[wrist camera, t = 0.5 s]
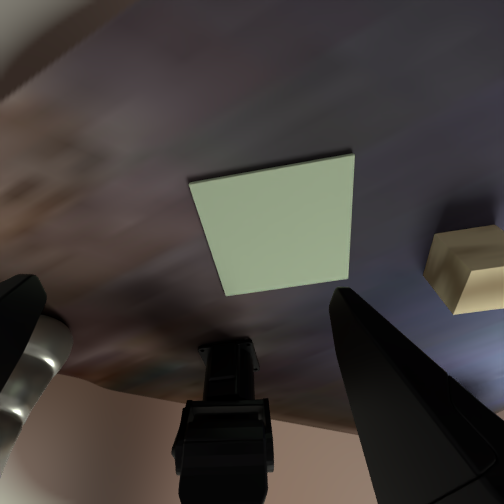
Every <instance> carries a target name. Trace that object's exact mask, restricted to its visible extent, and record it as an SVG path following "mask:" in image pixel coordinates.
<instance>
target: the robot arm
mask: <svg viewBox="0 0 504 504" xmlns="http://www.w3.org/2000/svg"><path fill="white" fill-rule="evenodd" d="M46 300H47V295H46V292H45V290H44V288H43V286H42V284H41V282H40V280H39V278H38V277H37V276H36V275H33V274H18V275H15V276H13V277H11V278H9V279H7V280H5V281H3V282H1V283H0V393H1V391H2V389H3V388H4V386H5V384H6V382H7V381H8V379H9V377H10V375H11V374H12V372H13V370H14V368H15V367H16V365H17V363H18V361H19V360H20V358H21V356H22V354H23V352H24V350H25V348H26V346H27V344H28V342H29V340H30V338H31V335H32V333H33V331H34V329H35V326H36V324H37V322H38V319H39V317H40V315H41V312H42V310H43V308H44V306H45V303H46ZM329 314H330V320H331V326H332V332H333V339H334V345H335V351H336V356H337V360H338V364H339V367H340V371H341V374H342V378H343V381H344V385H345V388H346V392H347V396H348V399H349V403H350V406H351V410H352V413H353V417H354V420H355V424H356V428H357V431H358V435H359V438H360V442H361V445H362V449H363V452H364V456H365V459H366V463H367V467H368V470H369V474H370V477H371V481H372V484H373V488H374V492H375V495H376V499H377V502H378V504H504V420H502V419H501V418H500V417H499V416H497V415H496V414H495V413H494V412H492V411H491V410H490V409H489V408H487V407H486V406H485V405H484V404H483V403H481V402H480V401H479V400H478V399H477V398H476V397H474V396H473V395H472V394H471V393H470V392H468V391H467V390H466V389H465V388H464V387H463V386H462V385H460V384H459V383H458V382H457V381H456V380H455V379H454V378H452V377H451V376H448V374H447V372H445V371H444V370H443V369H442V368H441V367H440V366H439V365H437V364H436V363H435V362H434V361H433V360H432V359H431V358H430V357H428V356H427V355H426V354H425V353H424V352H423V351H422V350H420V349H419V348H418V347H417V346H416V345H415V344H414V343H412V342H411V341H410V340H409V339H408V338H407V337H406V336H405V335H403V334H402V333H401V332H400V331H399V330H398V329H397V328H395V327H394V326H393V325H392V324H391V323H390V322H389V321H387V320H386V319H385V318H384V317H383V316H382V315H381V314H380V313H378V312H377V311H376V310H375V309H374V308H373V307H372V306H370V305H369V304H368V303H367V302H366V301H365V300H364V299H362V298H361V297H360V296H359V295H358V294H357V293H356V292H355V291H353V290H352V289H351V288H349V287H337V288H336V289H335V291H334V293H333V296H332V299H331V302H330V305H329ZM198 352H199V354H200V356H201V358H202V360H203V362H204V363H205V365H206V373H205V382H204V392H203V401H192V400H187V403H186V407H185V408H183V411H182V417H181V423H180V427H179V430H178V433H177V436H176V438H175V441H174V444H173V447H172V456H173V457H174V459H175V465H176V474H177V475H180V482H179V493H178V494H179V498H180V501H181V504H264V502H265V498H266V495H267V491H268V483H267V472H273V470H274V452H273V437H272V427H271V419H270V410H269V401H268V398H263V399H258V400H255V392H254V372H256V371H259V370H260V367H259V363H258V359H257V356H256V352H255V349H254V346H253V342H252V340H250V339H246V340H239V341H231V342H223V343H216V344H208V345H201V346H199V348H198Z"/></svg>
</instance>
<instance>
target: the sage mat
mask: <svg viewBox="0 0 504 504" xmlns="http://www.w3.org/2000/svg"><path fill="white" fill-rule="evenodd" d="M354 159H355V155H354V154H353V153H351V154H346V155H340V156H334V157H329V158H323V159H318V160H312V161H306V162H301V163H295V164H290V165H284V166H279V167H273V168H267V169H262V170H256V171H251V172H245V173H240V174H234V175H228V176H223V177H217V178H212V179H206V180H200V181H195V182H190V183H189V187H190V190H191V193H192V196H193V199H194V202H195V205H196V208H197V211H198V214H199V217H200V220H201V223H202V226H203V229H204V232H205V235H206V238H207V241H208V244H209V247H210V250H211V253H212V256H213V259H214V262H215V265H216V268H217V271H218V274H219V277H220V280H221V283H222V286H223V289H224V292H225V295H226V296H231V295H238V294H245V293H252V292H259V291H266V290H273V289H280V288H287V287H293V286H300V285H307V284H314V283H321V282H328V281H335V280H342V279H348V269H349V251H350V233H351V214H352V196H353V177H354Z"/></svg>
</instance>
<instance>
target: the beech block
mask: <svg viewBox="0 0 504 504" xmlns="http://www.w3.org/2000/svg"><path fill="white" fill-rule="evenodd" d="M423 276H424V277H425V279H426V280H427V281H428V282H429V284H430V285H431V286H432V288H433V289H434V290H435V292H436V293H437V294H438V295H439V297H440V298H441V299H442V301H443V302H444V303H445V305H446V306H447V307H448V308H449V310H450V311H451V312H452V314H453V315H454V314H462V313H470V312H478V311H485V310H493V309H501V308H504V231H503V230H501V229H500V228H499V227H497V226H496V225H489V226H483V227H476V228H469V229H463V230H456V231H450V232H443V233H437V234H434V238H433V242H432V245H431V249H430V252H429V256H428V259H427V263H426V267H425V270H424V274H423Z"/></svg>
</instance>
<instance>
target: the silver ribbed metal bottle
mask: <svg viewBox="0 0 504 504" xmlns="http://www.w3.org/2000/svg"><path fill="white" fill-rule="evenodd" d="M72 345H73V337H72V333H71V331H70V329H69V328H68V327H67V326H66V325H65V324H64V323H62V322H61V321H59V320H57V319H55V318H52V317H49V316H46V315H40V317H39V319H38V322H37V324H36V326H35V329H34V331H33V333H32V335H31V338H30V340H29V342H28V344H27V346H26V348H25V350H24V352H23V354H22V356H21V358H20V360H19V361H18V363H17V365H16V367H15V368H14V370H13V372H12V374H11V375H10V377H9V379H8V381H7V382H6V384H5V386H4V388H3V389H2V391H1V393H0V477H1V475H2V472H3V470H4V467H5V465H6V462H7V460H8V457H9V455H10V452H11V450H12V448H13V446H14V444H15V442H16V440H17V438H18V436H19V434H20V432H21V430H22V425H23V424H24V423H25V422H26V420H27V417H28V416H29V414H30V412H31V409H32V408H33V407H34V405H35V404H36V402H37V401H38V399H39V398H40V396H41V395H42V393H43V391H44V390H45V388H46V387H47V385H48V384H49V382H50V381H51V379H52V378H53V377H54V376H55V375H56V373H57V372H58V371H59V370H60V369H61V367H62V366H63V364H64V363H65V362H66V360H67V359H68V357H69V354H70V351H71V348H72Z"/></svg>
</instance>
